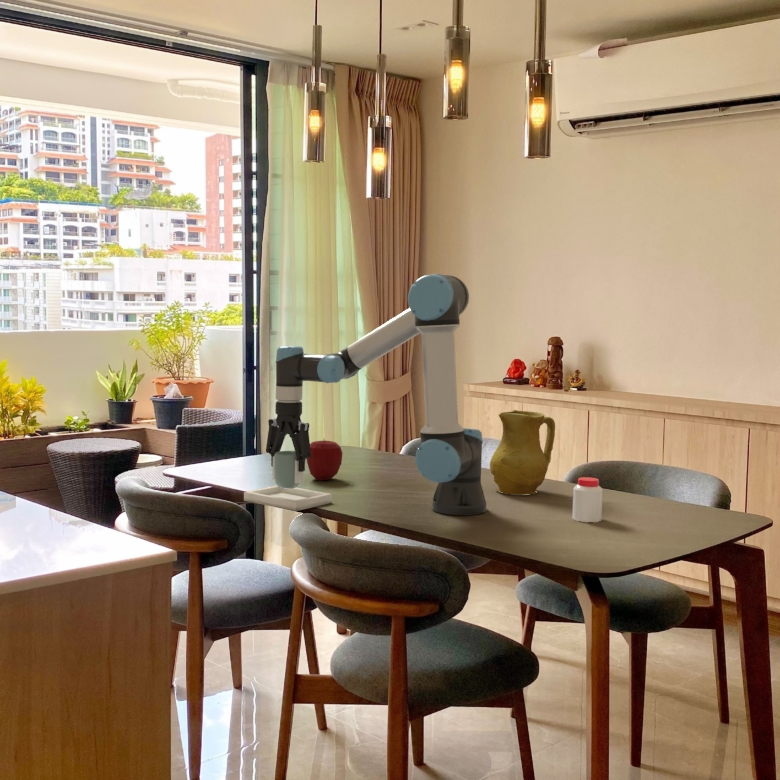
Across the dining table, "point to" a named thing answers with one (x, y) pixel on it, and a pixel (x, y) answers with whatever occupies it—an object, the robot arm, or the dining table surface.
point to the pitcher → (522, 452)
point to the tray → (288, 498)
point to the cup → (285, 469)
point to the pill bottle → (587, 500)
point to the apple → (324, 459)
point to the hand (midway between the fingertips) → (287, 480)
